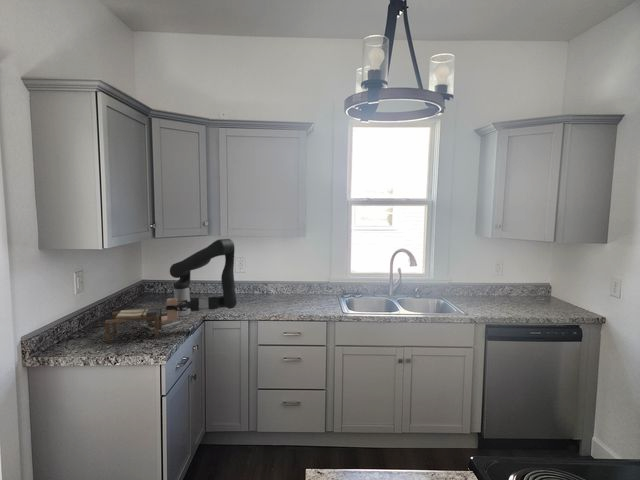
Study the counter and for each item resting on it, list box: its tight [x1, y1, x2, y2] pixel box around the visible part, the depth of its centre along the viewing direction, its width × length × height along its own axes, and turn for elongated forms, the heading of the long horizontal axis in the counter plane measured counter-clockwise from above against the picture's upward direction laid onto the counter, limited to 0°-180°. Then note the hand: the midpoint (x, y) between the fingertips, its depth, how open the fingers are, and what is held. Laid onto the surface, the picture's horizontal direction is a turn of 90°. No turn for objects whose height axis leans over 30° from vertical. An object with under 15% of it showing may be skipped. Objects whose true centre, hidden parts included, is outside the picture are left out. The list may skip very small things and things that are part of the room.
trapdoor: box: [116, 305, 161, 323], centre depth 193 cm, size 13×19×4 cm
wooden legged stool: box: [104, 307, 163, 345], centre depth 193 cm, size 17×24×12 cm
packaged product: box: [143, 315, 183, 331], centre depth 211 cm, size 18×5×10 cm
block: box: [166, 297, 178, 319], centre depth 199 cm, size 5×5×10 cm
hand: (167, 306), depth 198 cm, fingers closed on block, 5 cm apart
